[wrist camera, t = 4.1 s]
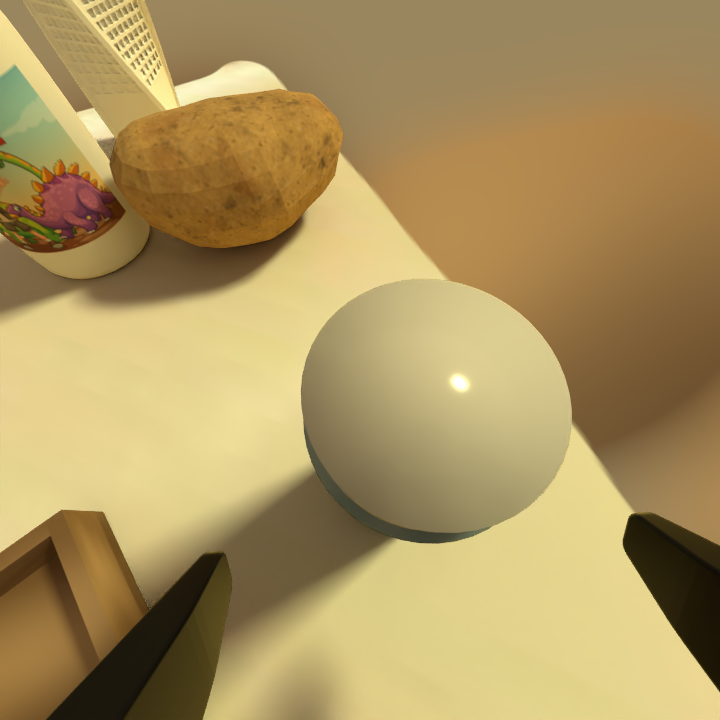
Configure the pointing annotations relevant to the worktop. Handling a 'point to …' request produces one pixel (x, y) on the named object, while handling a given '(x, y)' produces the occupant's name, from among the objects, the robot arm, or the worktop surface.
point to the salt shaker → (433, 410)
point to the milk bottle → (57, 176)
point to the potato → (228, 165)
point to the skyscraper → (109, 55)
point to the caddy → (61, 610)
